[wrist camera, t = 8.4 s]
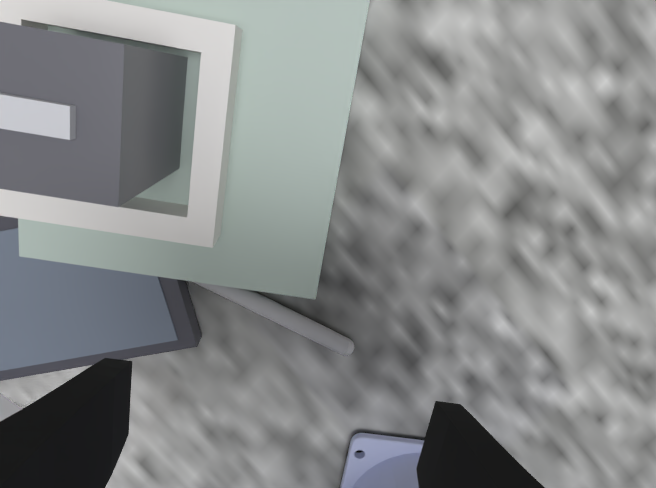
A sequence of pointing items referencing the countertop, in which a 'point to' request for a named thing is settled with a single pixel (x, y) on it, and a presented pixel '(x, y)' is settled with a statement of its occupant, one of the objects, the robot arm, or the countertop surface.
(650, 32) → the countertop surface
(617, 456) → the countertop surface
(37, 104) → the charger block
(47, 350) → the phone
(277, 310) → the rod
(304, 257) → the outlet plate
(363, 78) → the countertop surface
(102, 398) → the robot arm
